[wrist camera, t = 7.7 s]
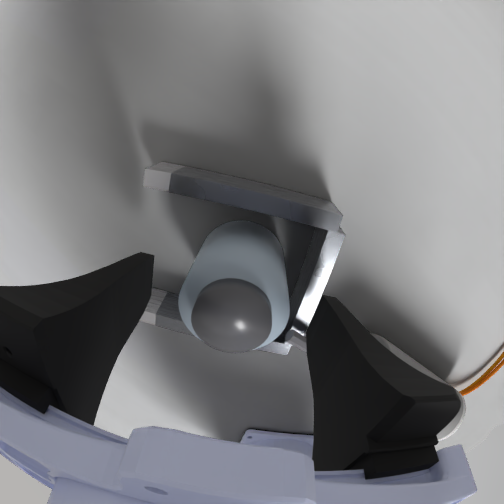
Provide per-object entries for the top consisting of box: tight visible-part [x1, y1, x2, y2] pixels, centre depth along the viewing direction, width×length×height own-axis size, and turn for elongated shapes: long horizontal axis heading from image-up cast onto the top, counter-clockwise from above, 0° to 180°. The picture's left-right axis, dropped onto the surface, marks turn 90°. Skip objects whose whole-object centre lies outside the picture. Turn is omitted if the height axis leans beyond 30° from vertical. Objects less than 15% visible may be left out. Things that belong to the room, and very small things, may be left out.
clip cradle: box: [139, 162, 345, 355], centre depth 14 cm, size 8×9×2 cm
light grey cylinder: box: [178, 220, 290, 353], centre depth 13 cm, size 4×4×5 cm
